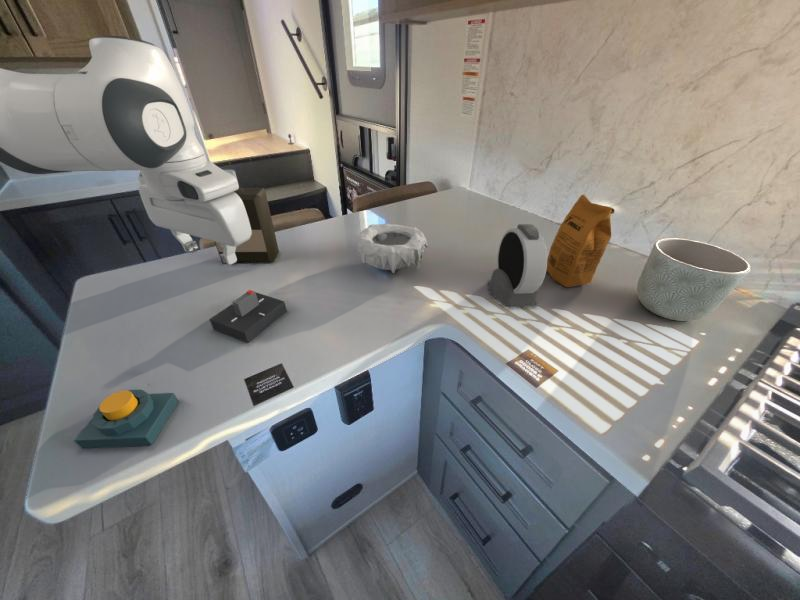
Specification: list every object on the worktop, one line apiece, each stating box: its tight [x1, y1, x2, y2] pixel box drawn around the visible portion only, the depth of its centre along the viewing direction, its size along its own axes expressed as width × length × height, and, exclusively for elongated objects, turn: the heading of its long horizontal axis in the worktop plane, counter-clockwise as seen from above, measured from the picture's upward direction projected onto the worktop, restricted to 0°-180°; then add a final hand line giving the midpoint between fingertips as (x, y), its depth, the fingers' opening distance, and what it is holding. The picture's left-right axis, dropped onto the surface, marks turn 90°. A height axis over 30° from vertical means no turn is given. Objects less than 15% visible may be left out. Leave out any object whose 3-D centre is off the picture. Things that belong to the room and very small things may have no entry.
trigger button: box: [98, 390, 138, 421], centre depth 48 cm, size 4×4×2 cm
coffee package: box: [546, 194, 615, 288], centre depth 84 cm, size 10×12×22 cm
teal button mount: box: [73, 389, 179, 449], centre depth 49 cm, size 10×8×4 cm
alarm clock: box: [489, 223, 548, 308], centre depth 78 cm, size 16×10×18 cm, turn 6°
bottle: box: [214, 169, 280, 264], centre depth 89 cm, size 8×16×25 cm, turn 93°
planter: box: [636, 237, 752, 322], centre depth 74 cm, size 17×17×15 cm
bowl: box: [356, 223, 429, 274], centre depth 91 cm, size 21×20×10 cm
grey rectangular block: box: [231, 289, 259, 317], centre depth 69 cm, size 5×2×4 cm, turn 156°
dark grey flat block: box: [209, 291, 288, 344], centre depth 71 cm, size 12×10×3 cm
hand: (211, 256), depth 56 cm, fingers open, 8 cm apart
